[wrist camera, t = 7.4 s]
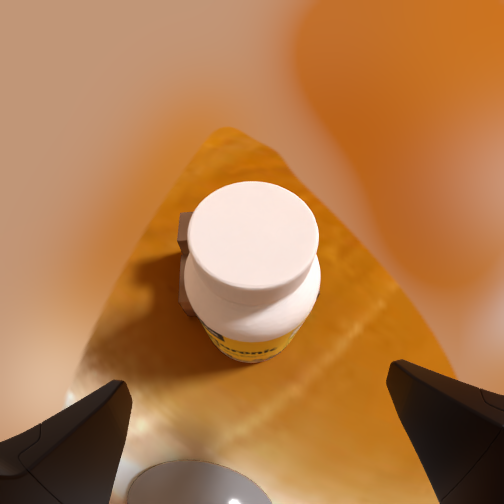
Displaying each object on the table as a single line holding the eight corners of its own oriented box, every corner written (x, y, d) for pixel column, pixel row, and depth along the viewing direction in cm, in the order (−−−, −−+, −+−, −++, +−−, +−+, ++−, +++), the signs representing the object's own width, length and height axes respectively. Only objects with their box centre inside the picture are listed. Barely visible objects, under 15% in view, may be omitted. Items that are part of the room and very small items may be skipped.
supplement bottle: (191, 339, 16) (128, 259, 7) (233, 269, 18) (220, 150, 10) (272, 379, 15) (304, 347, 6) (308, 302, 17) (358, 197, 9)
